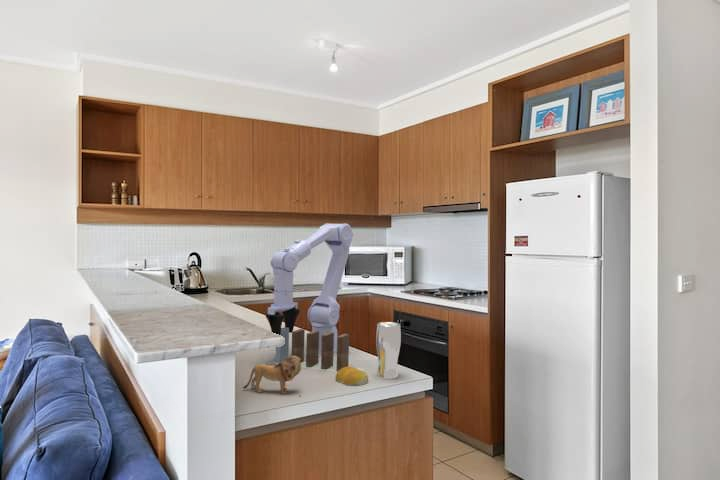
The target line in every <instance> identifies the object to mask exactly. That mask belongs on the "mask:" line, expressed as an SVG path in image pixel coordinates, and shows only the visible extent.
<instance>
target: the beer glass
mask: <svg viewBox="0 0 720 480" xmlns="http://www.w3.org/2000/svg"><path fill="white" fill-rule="evenodd" d="M376 326H377V327H376V336H375V338H376V339H375V340H376V341H375V343H376V344H375V345H376V353H377V359H378V360H377V361H378V362H377V363H378V364H377V365H378V366H377V372H376V377H377V378H379V379H385V380H394V379H398V378H399V373H398V372H399V371H398V362H399V359H398V358H399V355H400V350H401V349H400V348H401V343H402V342H401V341H402V340H401V339H402V337H401V336H402V333H401V324H400V323H398V322H394V321H393V322H391V321H380V322H378V323H377V324H376Z"/></svg>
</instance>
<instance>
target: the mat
mask: <svg viewBox="0 0 720 480" xmlns="http://www.w3.org/2000/svg"><path fill="white" fill-rule="evenodd" d="M275 362H276V360H275V361H273V362H272V364H275V365H278V364H279V363H275ZM302 368H303V369H309V370H316V371H323V372H330V373H337V372H338V371H336V368H337V364H333V366H331V367H330V368H328V369H326V370H325V369H321V362H318V364H317V365H315V366H313V367H311V368H310V367H306V360H304V362H302V363H301V369H302ZM354 368H356V369H358V370H360V371H364V372H365V370H366V368H361V367H354Z"/></svg>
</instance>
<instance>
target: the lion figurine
mask: <svg viewBox="0 0 720 480" xmlns="http://www.w3.org/2000/svg"><path fill="white" fill-rule="evenodd" d="M301 370H302V367H301V359H300V358H299V357H297V356H288V359H286V360H285V361H283V362H280V363H279V364H275V365H267V364H265V363H258V364H256V365H255V366H253V368H252V370H251V372H250V376H249V378H248V382H247V383H246V385H244V386H243V387H242V389H244V390H245V389H247V388H248V387H249V385H250V388H252V389H256V392H257V393H259V394H261V393H263V392H264V391H263V389H261V388H260V384H261V381H262V378H263V377H264V378H265V379H266V380H267V381H271V382H279V385H280V392H281V394H282V395H286V394H288V393H287V391H288V389H287V387H286V382H290V381H291V382H292V381H293V379H294V378H295V377H296V376H297V375H299V374H300V373H301ZM253 376H254V377H253Z"/></svg>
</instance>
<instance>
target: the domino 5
mask: <svg viewBox="0 0 720 480" xmlns="http://www.w3.org/2000/svg"><path fill="white" fill-rule="evenodd" d="M349 345H350V334H349V333H343V334H341V335H337V351H336V365H337V368H336V371H339V370H341V369H342V368H344V367H348V366H349V360H350V359H349V356H350V354H349V353H350V351H349V350H350V346H349Z"/></svg>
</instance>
